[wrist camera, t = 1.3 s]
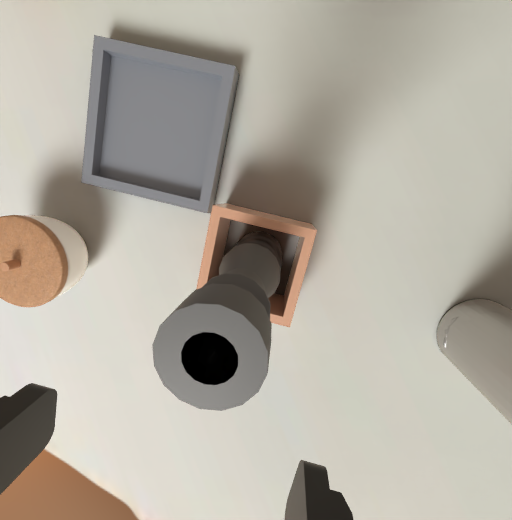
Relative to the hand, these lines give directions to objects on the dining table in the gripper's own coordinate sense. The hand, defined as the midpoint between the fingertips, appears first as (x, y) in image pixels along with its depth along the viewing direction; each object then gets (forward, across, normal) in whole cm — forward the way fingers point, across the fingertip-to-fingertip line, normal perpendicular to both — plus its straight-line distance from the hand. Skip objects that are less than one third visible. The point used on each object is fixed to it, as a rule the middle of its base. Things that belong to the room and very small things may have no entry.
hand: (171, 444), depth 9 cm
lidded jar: (+30, +26, +6) cm, 40 cm away
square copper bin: (+30, 0, 0) cm, 30 cm away
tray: (+30, +15, -12) cm, 36 cm away
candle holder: (+30, 0, 0) cm, 30 cm away
